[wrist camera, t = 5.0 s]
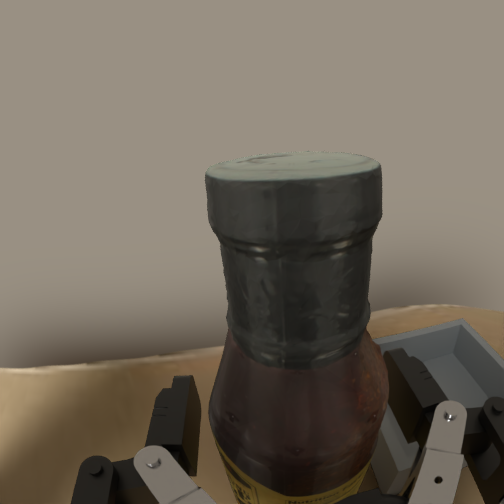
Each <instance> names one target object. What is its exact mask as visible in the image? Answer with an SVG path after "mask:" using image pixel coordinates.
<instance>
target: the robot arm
mask: <svg viewBox="0 0 504 504" xmlns="http://www.w3.org/2000/svg"><path fill="white" fill-rule="evenodd" d="M383 358H384V361H385V364H386V368H387V370H388V382H389V397H388V404H389V406H390V408H391V410H392V412H393V414H394V416H395V418H396V420H397V423H398V425H399V427H400V429H401V431H402V433H403V435H404V437H405V439H406V441H407V443H408V444H410V443H413V442H416V441H417V443H418V445H419V446H418V449H417V451H416V454H415V457H414V460H413V463H412V466H411V469H410V472H409V474H408V477H407V480H406V482H405V484H404V487H403V489H402V491H401V493H400V495H399V496H398V495H393V494H381V493H380V491H379V488H376V489H373V490H369V491H365V492H362V493H358V494H354V495H351V496H349V497H347V498H344V499H342V500H340V501H338V502H336V503H333V504H453V500H454V497H455V493H456V489H457V485H458V481H459V477H460V473H461V468H462V464H463V459H464V458H465V460H466V463H467V465H468V467H469V469H470V471H471V473H472V475H473V478H474V480H475V482H476V484H477V486H478V489H479V491H480V493H481V495H482V498H483V500H484V502H485V504H504V398H501V397H491V398H489V399H487V400H486V401H485V403H484V405H483V407H476V408H465V407H464V406H463V405H462V404H460V403H459V402H456V401H451V400H450V401H449V399H448V398H447V396H446V395H445V394H444V392H443V391H442V389H441V388H440V386H439V385H438V383H437V382H436V380H435V379H434V378H433V376H432V375H431V373H430V372H428V369H427V368H426V366H425V365H424V363H423V362H422V361H420V360H419V359H417V358H416V357H414V356H411V357H409V356H408V355H407V353H406V352H405V350H404V349H403V348H402V347H400V348H395V349H391V350H386V351H385V352H384V354H383ZM200 422H201V403H200V399H199V395H198V392H197V388H196V385H195V381H194V378H193V376H192V375H189V376H174V378H173V383H172V388H163V389H162V391H161V392H160V393H159V394H158V396H157V397H156V400H155V405H154V409H153V413H152V417H151V422H150V426H149V431H148V435H147V440H146V444H145V447H144V448H142V449H141V450H140V451H138V452H137V454H136V455H135V457H134V458H131V459H128V460H122V461H117V462H111V461H110V460H109V459H107V458H106V457H103V456H92V457H89V458H87V459H86V460H85V461H83V463H82V464H81V466H80V469H79V472H78V476H77V480H76V484H75V488H74V492H73V497H72V501H71V504H159V503H160V504H217V503H216V502H215V501H214V500H213V499H212V498H211V497H210V496H209V495H208V494H207V493H206V492H205V491H204V490H203V489H202V488H201V487H198V486H197V485H196V484H195V483H194V482H193V481H192V479H191V478H190V477H189V476H197V461H198V447H199V434H200Z"/></svg>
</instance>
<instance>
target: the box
mask: <svg viewBox="0 0 504 504" xmlns="http://www.w3.org/2000/svg"><path fill="white" fill-rule="evenodd" d="M372 340H373V341H374V342H375V343H376V344H378V345H379V346H380V348H381V353H382V356H383V354H384V352H385V351H386V350H391V349H395V348H400V347H402V348H403V349H404V350H405V352H406V353H407V355H408V356H409V357H411V356H414V357H416V358H417V359H419V360H420V361H422V362H423V363H424V365H425V366H426V368H427V369H428V372H430V373H431V375H432V376H433V378H434V379H435V380H436V382H437V383H438V385H439V386H440V388H441V389H442V391H443V392H444V394H445V395H446V396H447V398H448V399H449V401H450V400H451V401H456V402H459V403H460V404H462V405H463V406H464V407H465V408H476V407H483V405H484V403H485V401H486V400H487V399H489V398H491V397H501V398H504V360H503V359H502V358H501V356H500V355H499V354H498V353H497V352H496V351H495V350H494V349H493V348H492V347H491V346H490V345H489V344H488V343H487V342H486V341H485V340H484V339H483V338H482V337H481V336H480V335H479V334H478V333H477V332H476V331H475V330H474V329H473V328H472V327H471V326H470V325H469V324H468V323H467V322H466V321H465V320H464V319H463V318H462V319H458V320H455V321H451V322H447V323H443V324H439V325H435V326H431V327H427V328H423V329H419V330H414V331H410V332H405V333H401V334H396V335H391V336H387V337H382V338H377V339H372ZM418 446H419V445H418V443H417V441H416V442H413V443H410V444H408V443H407V441H406V439H405V437H404V435H403V433H402V431H401V429H400V427H399V425H398V423H397V420H396V418H395V416H394V414H393V412H392V410H391V408H390V406H389V404H388V402H387V409H386V412H385V415H384V418H383V421H382V424H381V427H380V429H379V435H378V442H377V446H376V449H375V452H374V454H373V457H372V459H371V462H370V463H371V466H372V468H373V471H374V474H375V477H376V479H377V482H378V485H379V488H380V491H381V493H382V494H393V495H397V494H400V493H401V491H402V489H403V487H404V484H405V482H406V480H407V477H408V474H409V472H410V469H411V466H412V463H413V460H414V457H415V454H416V451H417V449H418ZM466 466H468V465H467V463H466V460H465V458H464V459H463V464H462V468H464V467H466ZM462 468H461V469H462Z"/></svg>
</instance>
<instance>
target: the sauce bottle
mask: <svg viewBox="0 0 504 504" xmlns="http://www.w3.org/2000/svg"><path fill="white" fill-rule="evenodd" d="M205 183H206V191H207V199H208V200H207V208H208V209H207V210H208V219H209V223H210V225H211V228H212V230H213V232H214V233H215V234H216V236H217V237H218V240H219V241H220V244H221V245H220V247H221V256H222V262H223V267H224V276H225V280H226V290H227V300H228V311H227V316H226V319H227V322H228V333H227V337H226V342H225V347H224V351H223V355H222V359H221V362H220V366H219V369H218V373H217V376H216V380H215V383H214V386H213V390H212V393H211V397H210V402H209V411H208V413H209V421H210V426H211V429H212V432H213V435H214V438H215V442H216V446H217V448H218V450H219V453H220V456H221V459H222V461H223V464H224V467H225V470H226V473H227V476H228V479H229V481H230V484H231V487H232V490H233V492H234V494H235V497H236V500H237V502H238V504H333V503H336V502H338V501H340V500H342V499H344V498H347V497H349V496H351V495H354V494H356V493H357V491H358V489H359V487H360V484H361V482H362V480H363V478H364V476H365V473H366V471H367V469H368V466H369V464H370V462H371V459H372V457H373V454H374V452H375V449H376V446H377V442H378V435H379V429H380V427H381V424H382V421H383V418H384V415H385V412H386V409H387V402H388V397H389V382H388V370H387V368H386V364H385V361H384V358H383V356H382V353H381V348H380V346H379V345H378V344H376V343H375V342H374V341H373V340H372V339H371V336H370V334H369V333H368V331H367V329H366V326H367V324H368V322H369V320H370V303H369V302H368V290H369V281H370V267H371V254H372V238H373V235H374V233H375V231H376V229H377V226H378V224H379V221H380V220H381V217H382V172H381V165H380V163H379V162H378V161H376V160H374V159H372V158H369V157H366V156H362V155H357V154H349V153H337V152H309V151H307V152H290V153H274V154H267V155H262V154H261V155H256V156H250V157H245V158H239V159H235V160H232V161H226V162H222V163H218V164H215V165H213V166H211V167H209V168H208V170H207V171H206V175H205Z"/></svg>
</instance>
